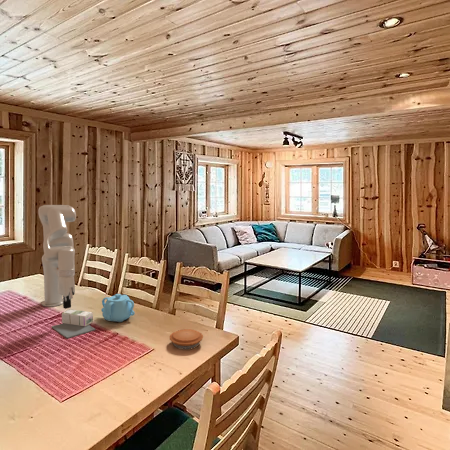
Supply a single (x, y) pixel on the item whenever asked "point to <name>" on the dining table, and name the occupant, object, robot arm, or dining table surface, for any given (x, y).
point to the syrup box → (77, 317)
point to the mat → (72, 329)
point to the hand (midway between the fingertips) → (67, 307)
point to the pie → (186, 338)
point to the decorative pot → (117, 308)
